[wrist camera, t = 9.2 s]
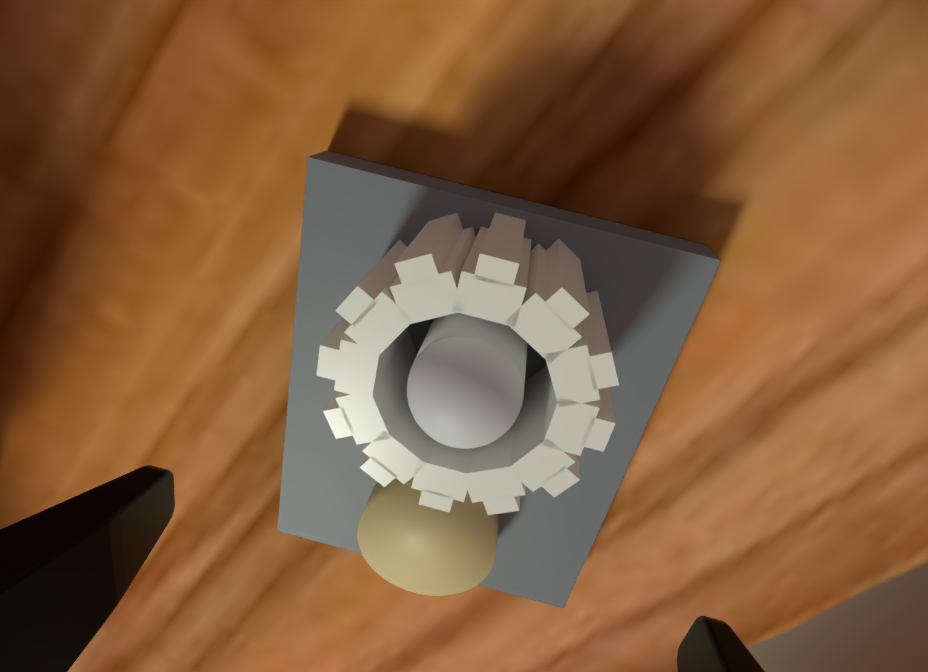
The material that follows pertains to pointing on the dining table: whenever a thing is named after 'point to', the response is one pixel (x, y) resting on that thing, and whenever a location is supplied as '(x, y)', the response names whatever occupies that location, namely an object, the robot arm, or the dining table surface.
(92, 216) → the dining table surface
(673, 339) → the carrier board
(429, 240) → the planet gear
